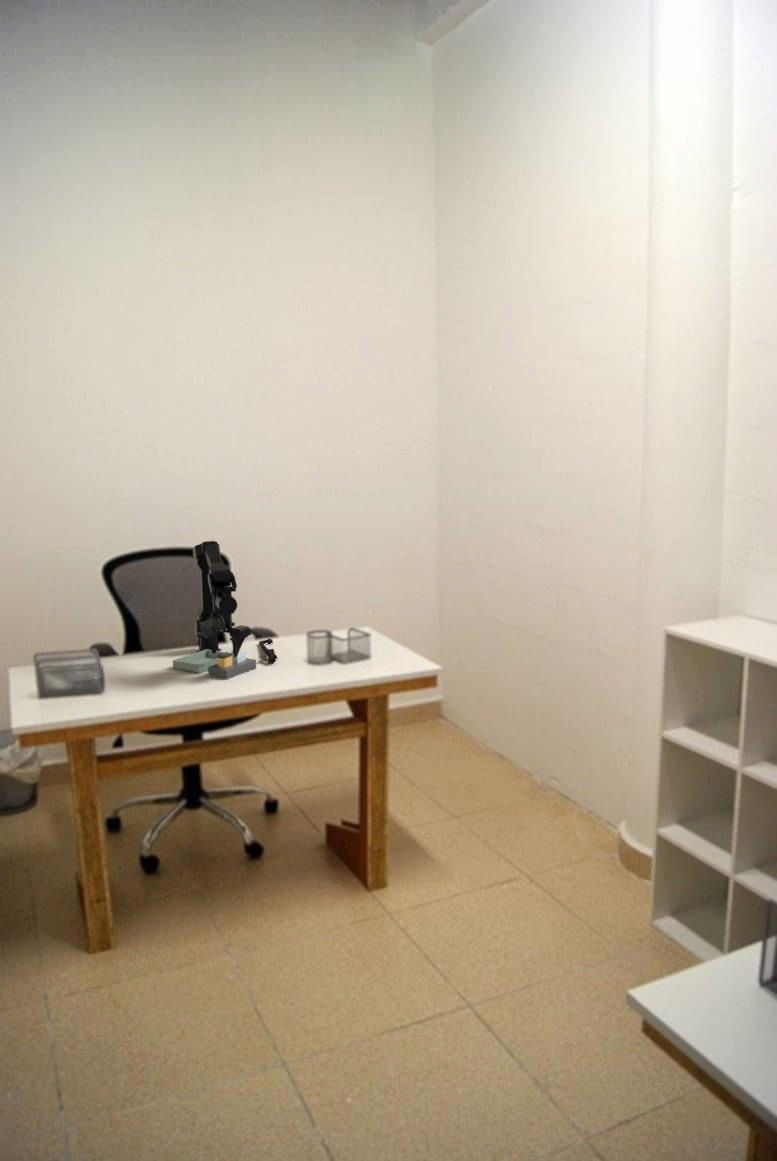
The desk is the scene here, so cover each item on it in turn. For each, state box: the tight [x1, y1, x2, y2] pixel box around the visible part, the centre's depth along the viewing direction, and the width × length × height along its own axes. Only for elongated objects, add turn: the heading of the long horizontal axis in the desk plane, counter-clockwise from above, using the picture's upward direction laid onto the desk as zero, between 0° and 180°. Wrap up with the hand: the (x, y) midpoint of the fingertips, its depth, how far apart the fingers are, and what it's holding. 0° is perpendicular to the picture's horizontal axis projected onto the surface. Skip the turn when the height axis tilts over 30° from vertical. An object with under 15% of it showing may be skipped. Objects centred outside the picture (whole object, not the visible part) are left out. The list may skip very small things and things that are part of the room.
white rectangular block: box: [230, 647, 247, 663], centre depth 293 cm, size 2×4×7 cm, turn 147°
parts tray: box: [172, 649, 226, 674], centre depth 299 cm, size 12×16×3 cm
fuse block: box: [207, 657, 257, 680], centre depth 290 cm, size 8×14×3 cm, turn 147°
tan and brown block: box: [218, 651, 233, 668], centre depth 287 cm, size 2×4×7 cm, turn 148°
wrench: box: [258, 638, 278, 664], centre depth 312 cm, size 5×5×30 cm
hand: (224, 655), depth 287 cm, fingers open, 9 cm apart
